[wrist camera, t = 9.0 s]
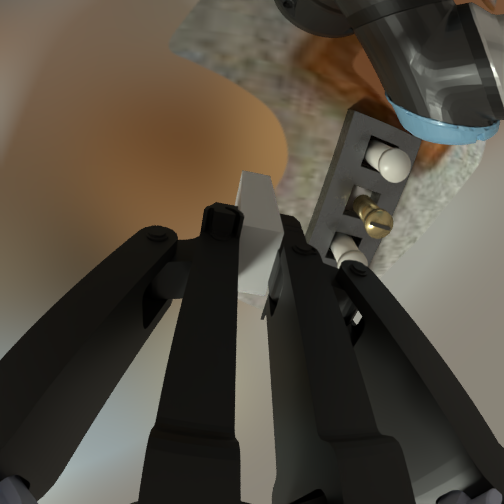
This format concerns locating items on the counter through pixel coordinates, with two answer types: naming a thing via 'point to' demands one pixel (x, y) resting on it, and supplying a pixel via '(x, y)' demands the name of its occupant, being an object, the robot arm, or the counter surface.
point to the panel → (354, 173)
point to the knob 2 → (388, 161)
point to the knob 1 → (346, 249)
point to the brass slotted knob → (373, 217)
